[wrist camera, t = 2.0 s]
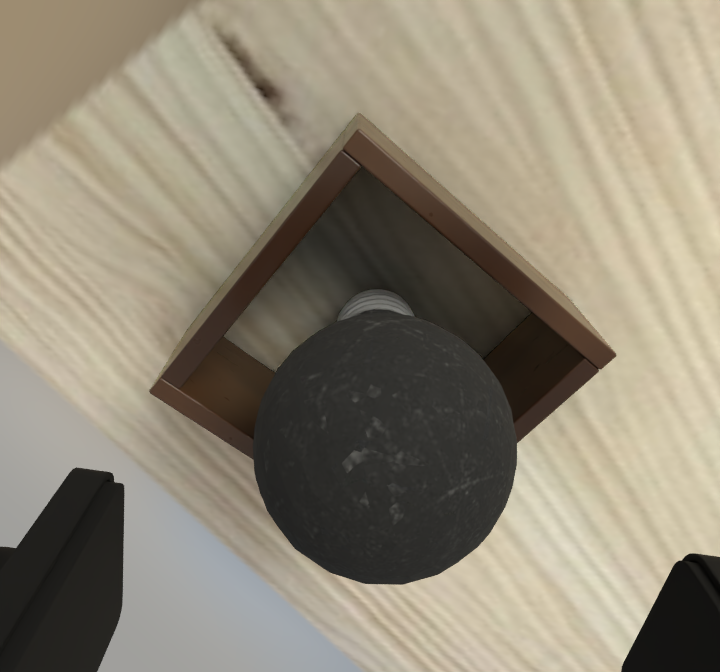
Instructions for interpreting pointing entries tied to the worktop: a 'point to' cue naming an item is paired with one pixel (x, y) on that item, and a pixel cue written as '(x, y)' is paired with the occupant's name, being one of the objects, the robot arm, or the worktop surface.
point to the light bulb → (384, 445)
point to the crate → (451, 219)
